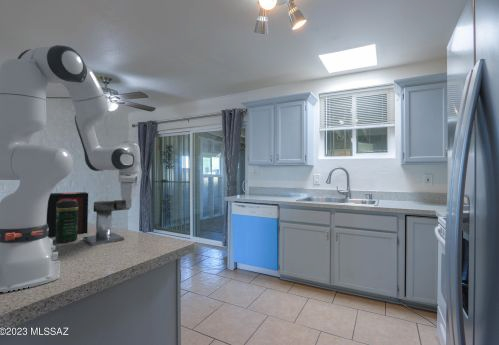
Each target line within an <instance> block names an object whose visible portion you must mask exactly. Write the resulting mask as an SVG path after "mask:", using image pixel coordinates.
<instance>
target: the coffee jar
mask: <svg viewBox="0 0 499 345" xmlns="http://www.w3.org/2000/svg"><path fill="white" fill-rule="evenodd" d="M56 204H57V205H56V235H55V237H54V238H55V241H56V243H70V242H74V241H77V240H78V234H77V229H78V202H77V201H74V200H72V199H61V200H60V201H58V202H57V203H56Z"/></svg>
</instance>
